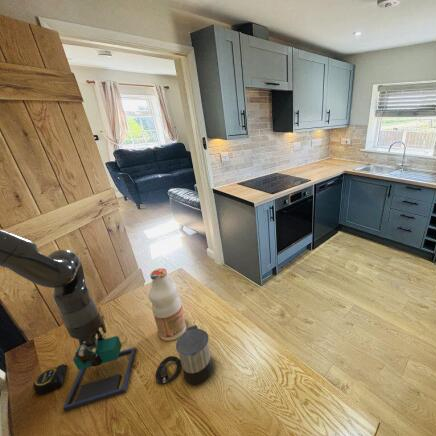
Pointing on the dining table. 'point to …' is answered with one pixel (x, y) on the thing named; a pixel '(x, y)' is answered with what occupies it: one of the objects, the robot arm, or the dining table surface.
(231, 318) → the dining table surface
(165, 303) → the fruit juice
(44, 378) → the tape measure
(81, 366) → the teal pad
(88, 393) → the black pad
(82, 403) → the dark blue open frame
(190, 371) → the milk frother
